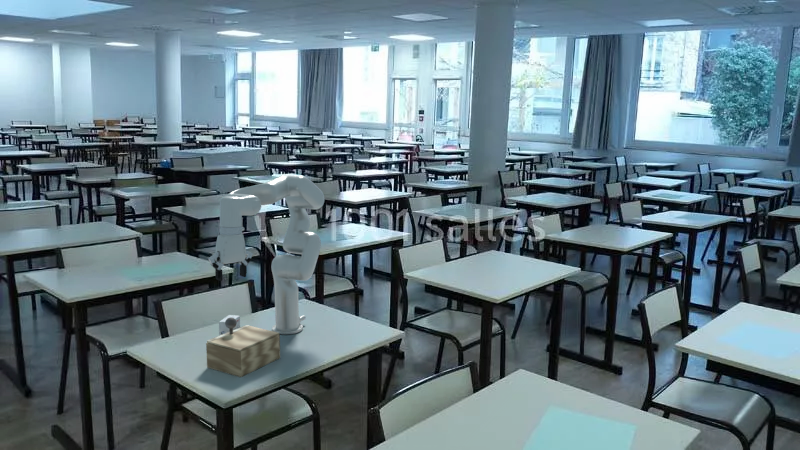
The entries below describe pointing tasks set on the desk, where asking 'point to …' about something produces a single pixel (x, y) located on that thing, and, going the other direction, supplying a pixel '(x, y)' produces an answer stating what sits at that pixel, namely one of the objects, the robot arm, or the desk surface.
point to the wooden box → (243, 357)
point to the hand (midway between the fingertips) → (231, 278)
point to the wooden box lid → (241, 336)
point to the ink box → (222, 326)
